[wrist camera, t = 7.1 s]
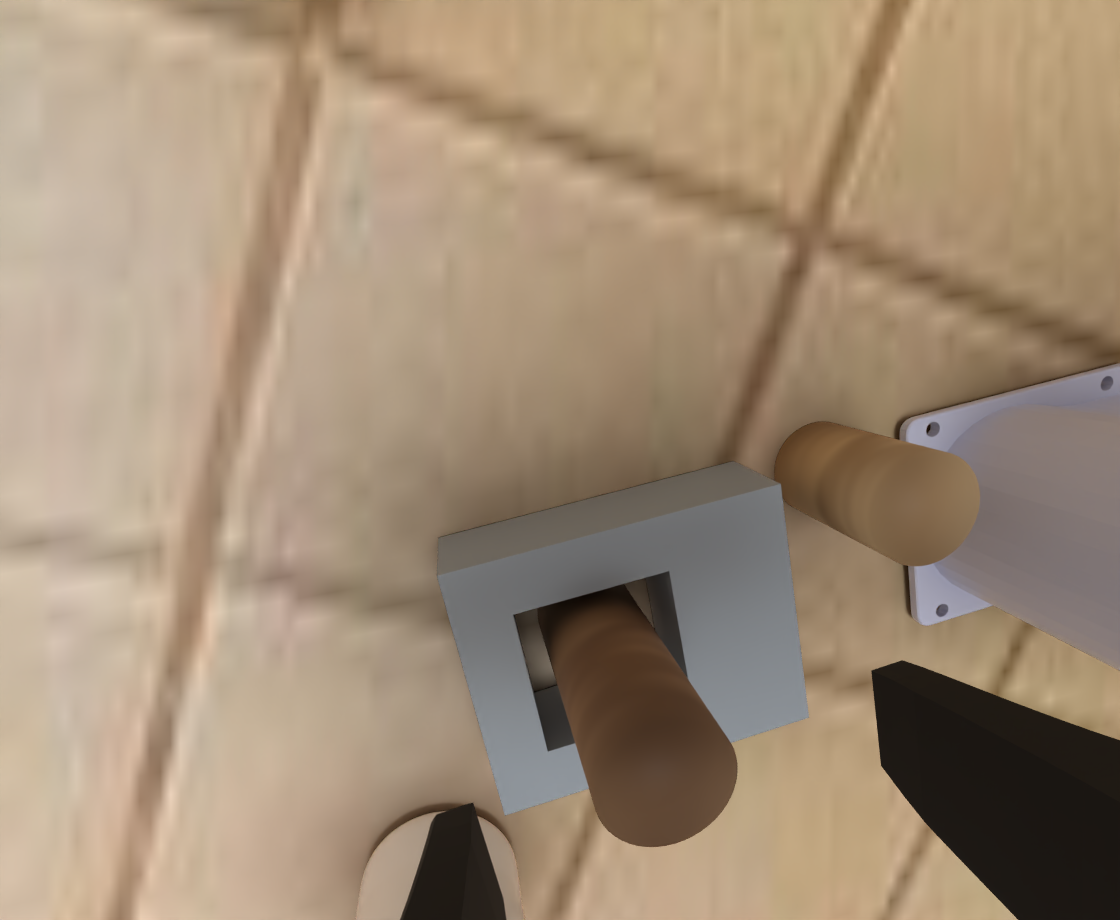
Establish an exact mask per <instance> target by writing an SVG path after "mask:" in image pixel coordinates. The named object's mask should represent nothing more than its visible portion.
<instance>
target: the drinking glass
mask: <svg viewBox="0 0 1120 920" xmlns="http://www.w3.org/2000/svg"><path fill="white" fill-rule="evenodd" d="M442 812H445V811H440V812H433V813H429V814H425V815H422V816H419V817H416V818H414V819H412V820H410V821H408V822H406V823H404V824H402V825H401V826H399V827H398V828H396V829H395V830H394V831H392V832H391V833H390V834H389V835H388V836H387V837H386V838H385V839H384V840H383V841H382V842H381V843H380V844H379V845H378V847H377V848H376V849H375V851H374V852H373V854H372V856H371V857H370V859H369V861H368V863H367V866H366V868H365V871H364V874H363V877H362V882H361V887H360V892H359V899H358V905H357V911H356V918H355V920H400V918H401V915H402V913H403V910H404V907H405V905H406V902H407V899H408V896H409V893H410V890H411V887H412V884H413V881H414V878H415V875H416V872H417V869H418V866H419V862H420V859H421V856H422V853H423V849H424V846H425V843H426V839H427V836H428V832H429V828H430V825H431V822H432V820H433V819H434V817H435V816H436V814H439V813H442ZM477 817H478V820H479V823H480V826H481V829H482V833H483V836H484V839H485V842H486V845H487V848H488V851H489V855H490V858H491V861H492V864H493V867H494V870H495V873H496V877H497V880H498V883H499V886H500V889H501V892H502V896H503V899H504V906H505V913H506V920H525V915H524V910H523V905H522V898H521V890H520V883H519V875H518V868H517V863H516V858H515V855H514V852H513V849H512V847H511V845H510V843H509V842H508V840H507V839H506V837H505V836H504V835H503V833H502V832H501V831H500V830H499V829H498V828H497V827H496V826H494V825H493V824H492V823H490V822H489V821H487V820H485V819H483V818H481V817H479V816H477Z"/></svg>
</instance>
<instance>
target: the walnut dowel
mask: <svg viewBox="0 0 1120 920" xmlns="http://www.w3.org/2000/svg"><path fill="white" fill-rule="evenodd" d="M538 621H539V625H540V629H541V632H542V635H543V639H544V642H545V645H546V648H547V652H548V655H549V658H550V662H551V665H552V668H553V671H554V675H555V678H556V681H557V685H558V688H559V691H560V695H561V698H562V701H563V704H564V708H565V711H566V714H567V718H568V721H569V724H570V727H571V731H572V734H573V737H574V741H575V744H576V747H577V751H578V754H579V757H580V760H581V764H582V767H583V770H584V774H585V777H586V780H587V783H588V787H589V790H590V793H591V797H592V800H593V803H594V807H595V810H596V812H597V815H598V817H599V819H600V821H601V822H602V824H603V825H604V826H605V828H606V829H607V830H608V831H609V832H610V833H612V834H613V835H614V836H615V837H617V838H619V839H620V840H622V841H625V842H627V843H629V844H633V845H637V846H644V847H659V846H667V845H671V844H675V843H678V842H681V841H684V840H686V839H688V838H690V837H692V836H694V835H695V834H697V833H699V832H700V831H702V830H703V829H704V828H706V827H707V826H708V825H709V824H711V823H712V822H713V821H714V820H715V819H716V818H717V817H718V815H719V814H720V813H721V812H722V811H723V809H724V808H725V806H726V805H727V803H728V801H729V799H730V798H731V795H732V793H733V790H734V787H735V783H736V779H737V759H736V754H735V751H734V748H733V746H732V744H731V743H730V741H729V739H728V738H727V736H726V735H725V733H724V732H723V730H722V729H721V727H720V726H719V724H718V723H717V721H716V720H715V719H714V717H713V716H712V714H711V713H710V711H709V710H708V708H707V707H706V705H705V704H704V702H703V701H702V699H701V698H700V696H699V695H698V693H697V692H696V690H695V689H694V687H693V686H692V684H691V683H690V681H689V680H688V679H687V677H686V676H685V674H684V673H683V671H682V670H681V668H680V667H679V665H678V664H677V662H676V661H675V659H674V658H673V656H672V655H671V653H670V652H669V650H668V649H667V647H666V646H665V644H664V643H663V642H662V640H661V639H660V637H659V636H658V634H657V633H656V631H655V630H654V628H653V627H652V625H651V624H650V622H649V621H648V619H647V618H646V616H645V615H644V613H643V612H642V610H641V609H640V607H639V606H638V605H637V603H636V602H635V600H634V599H633V597H632V596H631V594H630V593H629V591H628V590H627V588H626V587H625V585H624V584H621V585H618V586H614V587H611V588H607V589H603V590H600V591H596V592H593V593H589V594H586V595H582V596H578V597H575V598H571V599H568V600H564V601H561V602H557V603H553V604H550V605H546V606H543V607H539V608H538Z"/></svg>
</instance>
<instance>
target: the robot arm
mask: <svg viewBox="0 0 1120 920" xmlns="http://www.w3.org/2000/svg"><path fill="white" fill-rule="evenodd" d="M1101 381H1102V382H1101ZM929 424H931V429H930V431H929V432H928V433H926V429H927V426H928V425H929ZM900 440H901V441H905V442H909V443H913V444H917V445H921V446H925V447H929V448H932V449H936V450H940V451H944V452H948V453H952V454H954V455H956V456H958V457H960V458H962V459H963V460H964V461H965V462H966V463H968V465H969V466H970V467H971V468H972V470H973V472H974V473H975V475H976V478H977V480H978V484H979V489H980V505H979V511H978V515H977V518H976V521H975V523H974V525H973V527H972V529H971V531H970V533H969V534H968V536H967V538H966V539H965V540H964V541H963V543H962V544H961V545H960V546H959V547H958V548H957V549H956V550H955V551H954V552H952V553H951V554H950V555H948V556H947V557H945V558H944V559H942V560H940V561H938V562H935V563H933V564H929V565H925V566H908V570H909V585H910V601H911V614H912V617H913V619H914V620H915V621H917V622H918V623H920V624H922V625H925V626H928V625H932V624H936V623H939V622H942V621H945V620H948V619H952V618H955V617H958V616H961V615H965V614H968V613H971V612H974V611H978V610H981V609H984V608H987V607H990V606H995V607H997V608H999V609H1001V610H1003V611H1005V612H1007V613H1009V614H1011V615H1013V616H1015V617H1017V618H1019V619H1021V620H1022V621H1024V622H1026V623H1028V624H1030V625H1032V626H1034V627H1036V628H1038V629H1040V630H1042V631H1044V632H1046V633H1048V634H1050V635H1052V636H1053V637H1055V638H1057V639H1059V640H1061V641H1063V642H1065V643H1067V644H1069V645H1071V646H1073V647H1075V648H1077V649H1079V650H1081V651H1083V652H1084V653H1086V654H1088V655H1090V656H1092V657H1094V658H1096V659H1098V660H1100V661H1102V662H1104V663H1106V664H1108V665H1110V666H1112V667H1114V668H1116V669H1117V670H1119V671H1120V363H1118V364H1114V365H1110V366H1106V367H1102V368H1099V369H1095V370H1091V371H1087V372H1083V373H1079V374H1076V375H1072V376H1068V377H1064V378H1060V379H1056V380H1052V381H1049V382H1045V383H1041V384H1037V385H1033V386H1029V387H1026V388H1022V389H1018V390H1014V391H1010V392H1006V393H1003V394H999V395H995V396H991V397H987V398H983V399H980V400H976V401H972V402H968V403H964V404H960V405H957V406H953V407H949V408H945V409H941V410H937V411H933V412H930V413H926V414H922V415H918V416H914V417H911V418H909V419H907V420H906V421H905V422H904V423H903V424H902V426H901V428H900ZM939 605H940V607H939V609H938V610H937V611H936V609H937V608H938V606H939ZM872 681H873V691H874V700H875V710H876V720H877V730H878V740H879V749H880V759H881V766H882V767H883V769H884V770H885V771H886V773H887V774H888V775H889V777H890V778H891V779H892V781H893V782H894V783H895V785H896V786H897V787H898V789H899V790H900V791H901V793H902V794H903V795H904V797H905V798H906V799H907V800H908V802H909V803H910V804H911V805H912V807H913V808H914V809H915V810H916V812H917V813H918V814H919V815H920V817H921V818H922V819H923V820H924V822H925V823H926V824H927V825H928V826H929V827H930V828H931V829H932V830H933V831H934V832H935V834H936V835H937V836H938V837H939V838H940V839H941V840H942V841H943V842H944V843H945V844H946V845H947V846H948V847H949V848H950V849H951V850H952V851H953V852H954V854H955V855H956V856H957V857H958V858H959V859H960V860H961V861H962V862H963V863H964V864H965V865H966V866H967V867H968V868H969V869H970V870H971V871H972V872H973V873H974V874H975V875H976V876H977V878H978V879H979V880H980V881H981V882H982V883H983V884H984V885H985V886H986V887H987V888H988V889H989V890H990V891H991V892H992V893H993V894H994V895H995V896H996V897H997V898H998V899H999V900H1000V901H1001V902H1002V903H1003V904H1004V905H1005V907H1006V908H1007V909H1008V910H1009V911H1010V912H1011V913H1012V914H1013V915H1014V916H1015V917H1016V918H1017V919H1018V920H1120V740H1117V739H1114V738H1111V737H1108V736H1105V735H1102V734H1099V733H1096V732H1093V731H1090V730H1088V729H1085V728H1082V727H1079V726H1076V725H1074V724H1071V723H1068V722H1065V721H1062V720H1060V719H1057V718H1054V717H1051V716H1049V715H1046V714H1043V713H1041V712H1038V711H1035V710H1033V709H1030V708H1027V707H1025V706H1022V705H1019V704H1017V703H1014V702H1011V701H1009V700H1006V699H1004V698H1001V697H998V696H996V695H993V694H991V693H988V692H985V691H983V690H980V689H978V688H975V687H973V686H970V685H967V684H965V683H962V682H960V681H957V680H955V679H952V678H949V677H947V676H944V675H942V674H939V673H936V672H934V671H931V670H928V669H926V668H923V667H920V666H917V665H914V664H912V663H909V662H906V661H903V660H902V661H899V662H896V663H893V664H890V665H887V666H884V667H881V668H878V669H875V670H872ZM400 920H506V913H505V906H504V899H503V896H502V892H501V889H500V886H499V883H498V880H497V877H496V873H495V870H494V867H493V864H492V861H491V858H490V855H489V851H488V848H487V845H486V842H485V839H484V836H483V833H482V829H481V826H480V823H479V820H478V817H477V814H476V811H475V807H474V804H473V803H470V804H467V805H464V806H461V807H458V808H454V809H451V810H448V811H445V812H442V813H439V814H436V816H435V817H434V819H433V820H432V822H431V825H430V828H429V832H428V836H427V839H426V843H425V846H424V849H423V853H422V856H421V859H420V862H419V866H418V869H417V872H416V875H415V878H414V881H413V884H412V887H411V890H410V893H409V896H408V899H407V902H406V905H405V907H404V910H403V913H402V915H401V918H400Z"/></svg>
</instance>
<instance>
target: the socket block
mask: <svg viewBox="0 0 1120 920" xmlns="http://www.w3.org/2000/svg"><path fill="white" fill-rule="evenodd" d="M437 578H438V582H439V585H440V589H441V592H442V596H443V599H444V603H445V606H446V610H447V614H448V617H449V621H450V624H451V628H452V631H453V635H454V638H455V642H456V645H457V649H458V652H459V656H460V659H461V663H462V666H463V670H464V673H465V677H466V680H467V684H468V687H469V691H470V694H471V698H472V701H473V705H474V709H475V712H476V716H477V719H478V723H479V726H480V730H481V733H482V737H483V740H484V744H485V747H486V751H487V754H488V758H489V761H490V765H491V768H492V772H493V775H494V779H495V782H496V786H497V789H498V793H499V796H500V800H501V804H502V807H503V811H504V814H505V815H508V814H512V813H515V812H518V811H521V810H524V809H527V808H530V807H533V806H536V805H539V804H543V803H546V802H549V801H552V800H555V799H558V798H561V797H564V796H567V795H570V794H574V793H577V792H580V791H583V790H586V789H589V787H588V783H587V780H586V777H585V774H584V770H583V767H582V764H581V760H580V757H579V754H578V751H577V747H576V744H575V741H574V737H573V734H572V731H571V727H570V724H569V721H568V718H567V714H566V711H565V708H564V704H563V701H562V698H561V695H560V691H559V688H558V685H557V686H554V687H551V688H547V689H544V690H541V691H537V692H534V691H533V687H532V683H531V679H530V675H529V671H528V667H527V663H526V659H525V655H524V651H523V647H522V643H521V639H520V635H519V631H518V628H517V624H516V620H515V616H514V614H518V613H521V612H525V611H529V610H532V609H536V608H539V607H543V606H546V605H550V604H553V603H557V602H561V601H564V600H568V599H571V598H575V597H578V596H582V595H586V594H589V593H593V592H596V591H600V590H603V589H607V588H611V587H614V586H618V585H621V584H625V583H628V582H632V581H635V580H639V579H643V578H646V584H647V589H648V594H649V599H650V605H651V610H652V615H653V621H654V626H655V631H656V633H657V634H658V636H659V637H660V639H661V640H662V642H663V643H664V644H665V646H666V647H667V649H668V650H669V652H670V653H671V655H672V656H673V658H674V659H675V661H676V662H677V664H678V665H679V667H680V668H681V670H682V671H683V673H684V674H685V676H686V677H687V679H688V680H689V681H690V683H691V684H692V686H693V687H694V689H695V690H696V692H697V693H698V695H699V696H700V698H701V699H702V701H703V702H704V704H705V705H706V707H707V708H708V710H709V711H710V713H711V714H712V716H713V717H714V719H715V720H716V721H717V723H718V724H719V726H720V727H721V729H722V730H723V732H724V733H725V735H726V736H727V738H728V739H729V741H730V743H732V742H735V741H738V740H741V739H744V738H747V737H750V736H753V735H756V734H760V733H763V732H766V731H769V730H772V729H775V728H778V727H781V726H784V725H787V724H791V723H794V722H797V721H800V720H803V719H806V718H809V715H808V706H807V698H806V690H805V681H804V673H803V665H802V656H801V648H800V640H799V631H798V623H797V615H796V606H795V598H794V590H793V581H792V573H791V565H790V556H789V548H788V540H787V531H786V523H785V515H784V506H783V498H782V489H781V484H780V483H778V482H776V481H774V480H772V479H770V478H768V477H766V476H763V475H761V474H759V473H757V472H755V471H753V470H751V469H749V468H747V467H745V466H743V465H741V464H738V463H736V462H734V461H732V462H728V463H724V464H720V465H716V466H713V467H709V468H705V469H701V470H697V471H693V472H689V473H686V474H682V475H678V476H674V477H670V478H666V479H663V480H659V481H655V482H651V483H647V484H643V485H639V486H636V487H632V488H628V489H624V490H620V491H616V492H613V493H609V494H605V495H601V496H597V497H593V498H589V499H586V500H582V501H578V502H574V503H570V504H566V505H563V506H559V507H555V508H551V509H547V510H543V511H539V512H536V513H532V514H528V515H524V516H520V517H516V518H512V519H509V520H505V521H501V522H497V523H493V524H489V525H486V526H482V527H478V528H474V529H470V530H466V531H462V532H459V533H455V534H451V535H447V536H443V537H439V538H438V560H437Z"/></svg>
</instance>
